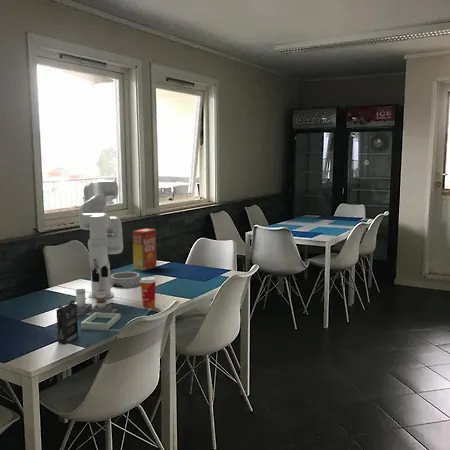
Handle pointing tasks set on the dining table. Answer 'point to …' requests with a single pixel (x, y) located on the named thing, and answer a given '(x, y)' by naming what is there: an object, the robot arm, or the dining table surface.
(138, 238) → the food packaging
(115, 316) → the parts tray
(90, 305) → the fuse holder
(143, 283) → the paper cup
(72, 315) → the geiger counter
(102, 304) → the fuse
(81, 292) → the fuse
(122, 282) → the dog bowl
